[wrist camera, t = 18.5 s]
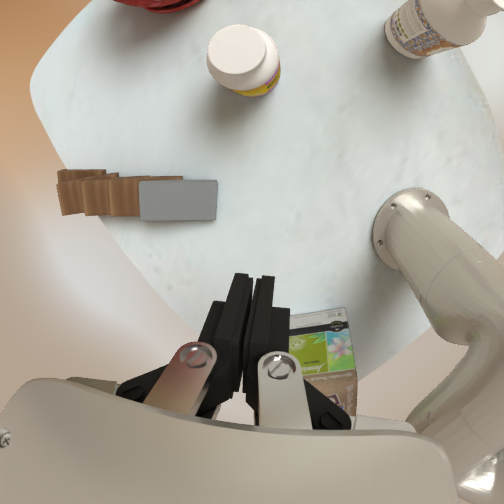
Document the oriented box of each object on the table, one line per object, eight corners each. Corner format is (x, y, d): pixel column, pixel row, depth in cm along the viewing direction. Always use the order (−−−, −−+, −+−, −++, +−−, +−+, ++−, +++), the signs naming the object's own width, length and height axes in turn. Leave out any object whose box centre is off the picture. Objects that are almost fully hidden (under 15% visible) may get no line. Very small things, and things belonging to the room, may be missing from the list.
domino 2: (115, 174, 35) (56, 184, 33) (120, 207, 38) (62, 215, 36) (118, 172, 37) (60, 181, 35) (122, 204, 39) (65, 212, 37)
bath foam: (403, 66, 26) (500, 40, 8) (373, 22, 24) (444, -41, 6) (438, 51, 23) (537, 28, 6) (410, 9, 21) (490, -43, 4)
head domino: (218, 183, 35) (138, 183, 32) (215, 219, 37) (140, 221, 35) (216, 180, 36) (140, 180, 34) (214, 215, 38) (142, 216, 36)
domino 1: (101, 171, 36) (57, 171, 37) (104, 203, 38) (60, 200, 39) (107, 168, 37) (63, 169, 38) (109, 199, 40) (65, 196, 40)
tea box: (284, 315, 45) (280, 389, 32) (345, 305, 43) (361, 378, 30) (297, 371, 51) (296, 437, 38) (348, 364, 49) (357, 429, 36)
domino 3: (148, 178, 35) (81, 182, 33) (150, 212, 38) (85, 216, 35) (150, 175, 37) (85, 179, 34) (151, 209, 39) (88, 212, 37)
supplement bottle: (275, 101, 31) (269, 92, 19) (222, 93, 31) (188, 83, 19) (285, 53, 28) (284, 20, 16) (231, 45, 28) (203, 12, 16)
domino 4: (182, 178, 35) (108, 181, 33) (181, 214, 37) (111, 216, 35) (182, 175, 36) (111, 178, 34) (182, 210, 39) (113, 212, 36)
